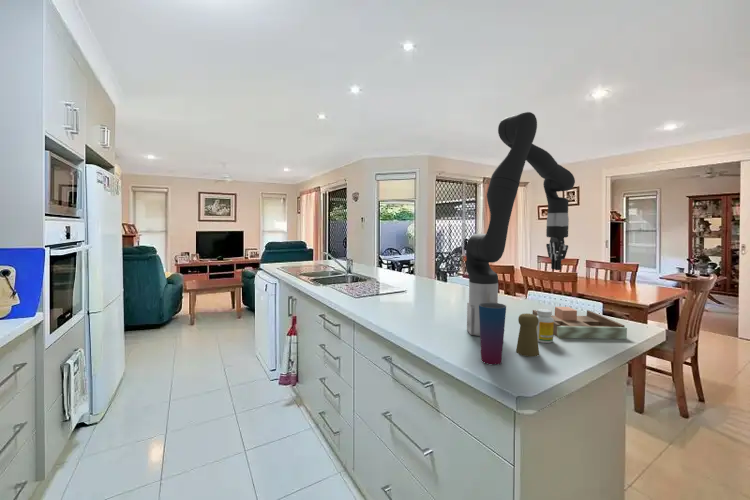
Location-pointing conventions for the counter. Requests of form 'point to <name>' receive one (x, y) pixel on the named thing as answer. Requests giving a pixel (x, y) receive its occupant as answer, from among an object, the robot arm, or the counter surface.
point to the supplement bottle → (545, 326)
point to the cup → (492, 331)
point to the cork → (528, 335)
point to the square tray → (588, 327)
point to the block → (565, 313)
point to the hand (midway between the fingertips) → (556, 269)
